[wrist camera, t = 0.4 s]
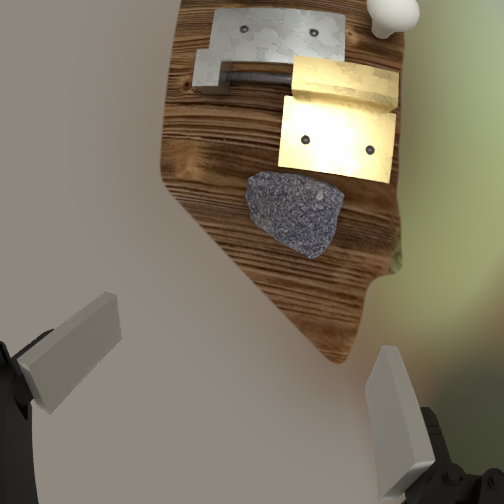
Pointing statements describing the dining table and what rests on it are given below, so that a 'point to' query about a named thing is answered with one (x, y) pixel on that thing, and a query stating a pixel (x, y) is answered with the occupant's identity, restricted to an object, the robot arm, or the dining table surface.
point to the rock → (295, 210)
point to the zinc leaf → (265, 44)
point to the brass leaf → (339, 119)
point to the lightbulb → (392, 16)
